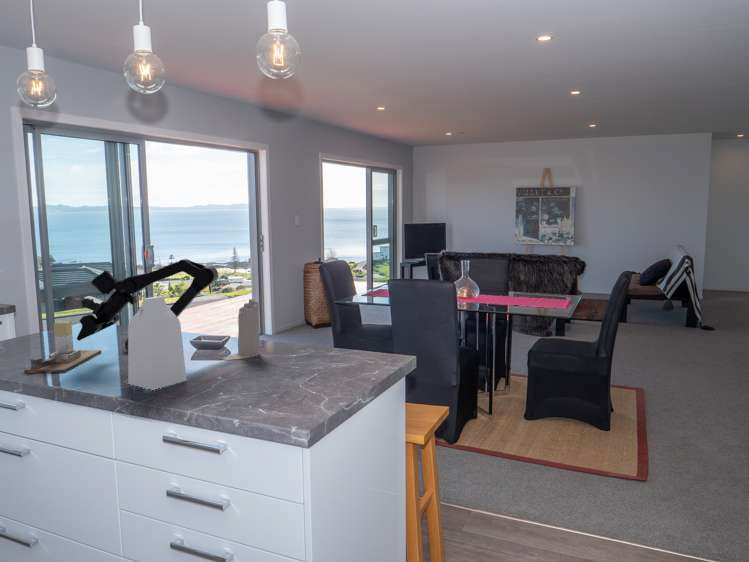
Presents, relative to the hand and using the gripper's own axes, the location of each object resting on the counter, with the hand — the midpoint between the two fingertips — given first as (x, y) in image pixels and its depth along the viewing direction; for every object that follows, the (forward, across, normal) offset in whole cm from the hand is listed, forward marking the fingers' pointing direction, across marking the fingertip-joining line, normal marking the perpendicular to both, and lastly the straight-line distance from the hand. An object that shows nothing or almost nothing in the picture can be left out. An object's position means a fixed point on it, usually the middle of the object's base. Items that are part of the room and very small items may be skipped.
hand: (84, 336), depth 195 cm
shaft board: (+11, 0, +1) cm, 11 cm away
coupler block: (+10, 0, +1) cm, 11 cm away
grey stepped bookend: (-30, -5, +44) cm, 53 cm away
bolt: (-2, -21, +16) cm, 26 cm away
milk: (-17, +25, +30) cm, 43 cm away
